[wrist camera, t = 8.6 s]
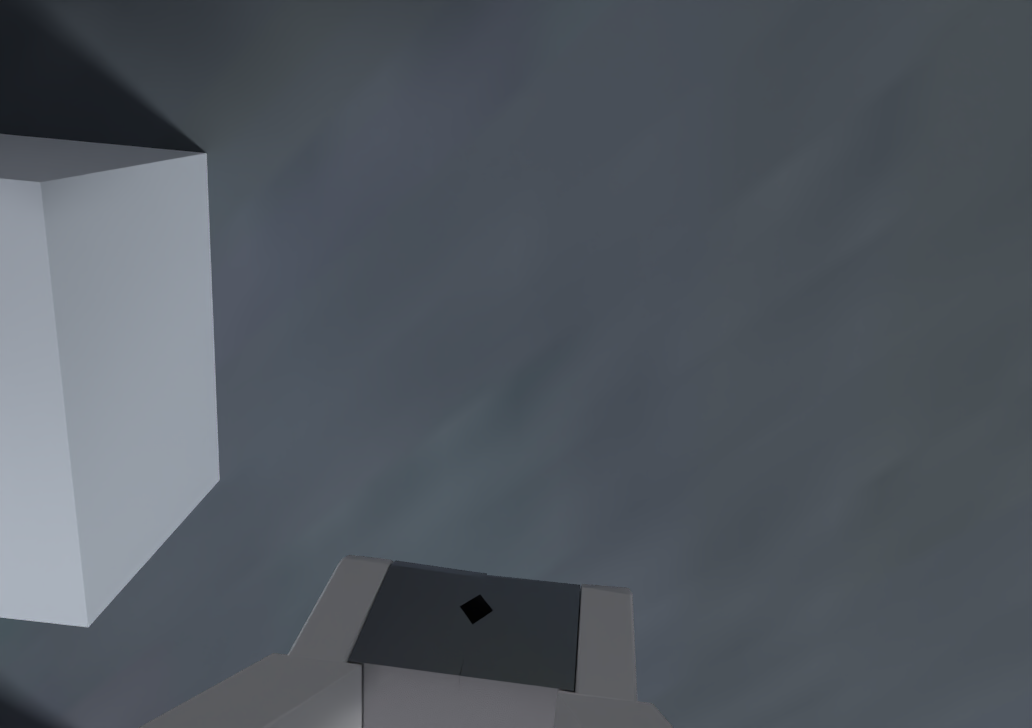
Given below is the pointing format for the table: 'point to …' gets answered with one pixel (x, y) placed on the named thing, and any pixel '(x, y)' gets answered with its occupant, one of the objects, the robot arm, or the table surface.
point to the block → (100, 367)
